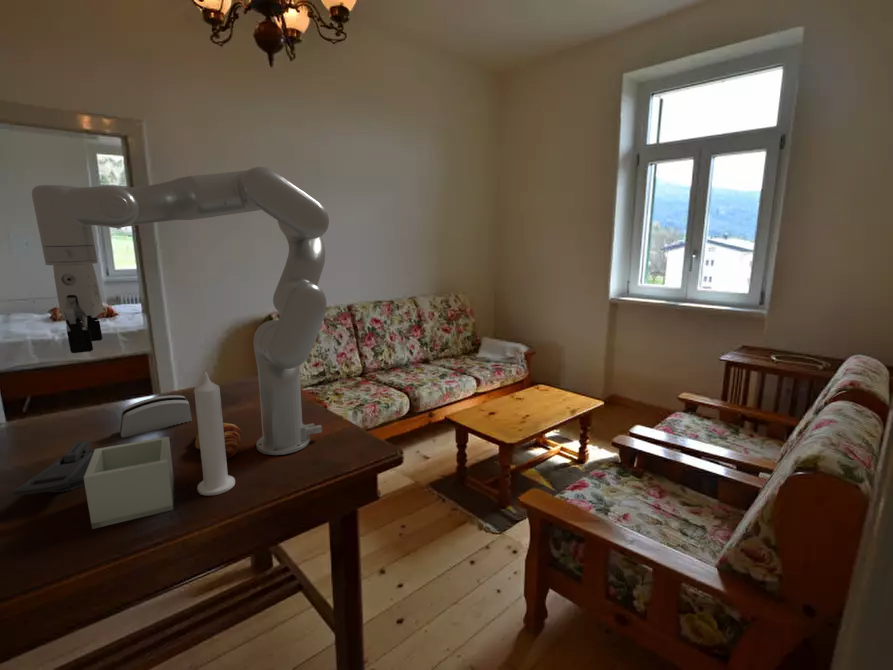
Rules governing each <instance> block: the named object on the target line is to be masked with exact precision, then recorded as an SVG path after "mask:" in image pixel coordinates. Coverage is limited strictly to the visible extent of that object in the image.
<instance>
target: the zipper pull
mask: <svg viewBox="0 0 893 670" xmlns="http://www.w3.org/2000/svg"><path fill="white" fill-rule="evenodd" d="M94 451H95V449H94V450H93V449H91V445H90V442H89V441H88V440H83V441H77V442H75V443H74V444H73V445H72V446H71V447H70V448H69V450H68V451H67V452H66V454H65V455H64V456H63V455H62V456H61V457H60V458H58V459H57V460H55V462H53V463H52V464H51V465H50V466H48V467H47V468H45V469H43V470H42V471H41V472H39V473H38V474H36V475H35V476H34V477H32V478H30V479H29V480H27V481H26V482H25V483H23V484H21V485H20V486H19V487H17V488H15V489H14V490H13V491H12V492H13V495H14V496H25V495H27V496H28V495H33V494H39V493H45V492H46V493H55V494H56V492H60V493H65V492H64V491H67V492H70V491H69V490H72V491H73V489H75V490H77V489H80V488H83V487H85V483H84V476H85V473H86V471H87V468H88V466H89V463H90V461H91V458H92V456H93V453H94ZM82 486H83V487H82ZM79 487H80V488H79ZM76 488H77V489H76Z"/></svg>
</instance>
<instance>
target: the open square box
mask: <svg viewBox="0 0 893 670" xmlns="http://www.w3.org/2000/svg"><path fill="white" fill-rule="evenodd" d="M94 450H95V451H94V453H93V456H92V458H91V461H90V463H89V466H88V468H87V471H86V473H85V476H84V483H85V486H84V488H85V495H86V499H87V501H86V502H87V506H88V507H87V508H88V512H89V518H90V524H91V529H92V530H94V529H100V528H103V527H106V526H110V525H115V524H119V523H122V522H128V521H133V520H135V519H141V518H144V517H148V516H153V515H157V514H162V513H166V512H169V511H173V510H174V495H173V494H175V493H174V491H175V477H174V470H173V461H172V460H173V459H172V452H171V445H170V437H169V436H164V437H163V436H162V437H158V438H152V439H146V440H140V441H134V442H129V443H123V444H116V445H111V446H110V445H109V446H107V447H105V446H104V447H99V448H94Z"/></svg>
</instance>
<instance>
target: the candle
mask: <svg viewBox="0 0 893 670" xmlns="http://www.w3.org/2000/svg"><path fill="white" fill-rule="evenodd" d="M193 391H194V392H193V393H194V399H195V400H194V402H195V410H196V420H197V429H198V431H199V441H200V449H199V450H200V459H201V466H202V467H201V468H202V475H203V477H202V478H203V480H201V482H199V483H198V484H197V488H196V489H197V492H198V493H199V494H200V495H203V496H206V497H207V496H208V497H209V496H210V497H211V496H217V495H221V494H223V493H226V492H228V491H230V490H231V489H233V488H234V486H235V484H236V478H235V477H234V476H232V475H229V474H228V473H229V472H228V466H227V465H228V463H227V459H226V451H225V440H224V429H223V423H224V420H223V412H222V411H223V410H222V409H223V408H222V399H221V398H222V397H221V387H220V385H219V384H217V383H215V382H212V380H210V378H209V373H208V372H207V371H205V372H203V377H202V381H201V383H200V384H198V385H197V386H196V387H195V388H194V389H193ZM198 431H197V432H198Z"/></svg>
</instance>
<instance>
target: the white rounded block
mask: <svg viewBox="0 0 893 670" xmlns="http://www.w3.org/2000/svg"><path fill="white" fill-rule="evenodd" d="M191 412H192V411H191V408H190V402H189V401H188V399H187V398H186V397H185V395H178V394H177V395H175V394H174V395H162V396H154V397H151V398H146V399H143V400H140V401H137V402H134V403H131V404H130V405H127V406H125V407H123V408H122V410H121V415H120V421H119V422H120V424H119V427H118V428H119V429H118V432H119V434H120V437H121V438H122V437H123V438H122V439H125V438H128V437H132V436H136V435H140V434H145V433H151V432H153V431H157V430H162V429H166V428H169V426H170V427H174V426H178V425H182V424H181V423H183V424H186V423H185V422H187V423H190V422H189V421H191V422H192V421H193V420H192V419H193V418H192V413H191ZM177 424H178V425H177ZM173 425H174V426H173ZM124 437H125V438H124Z"/></svg>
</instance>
